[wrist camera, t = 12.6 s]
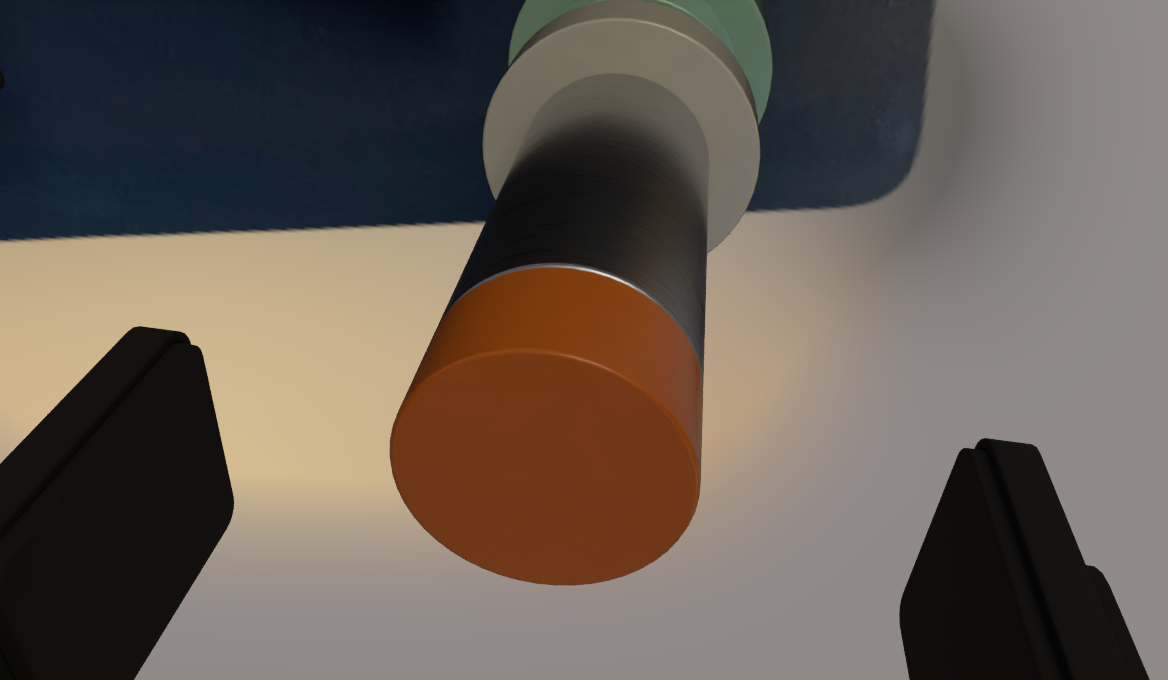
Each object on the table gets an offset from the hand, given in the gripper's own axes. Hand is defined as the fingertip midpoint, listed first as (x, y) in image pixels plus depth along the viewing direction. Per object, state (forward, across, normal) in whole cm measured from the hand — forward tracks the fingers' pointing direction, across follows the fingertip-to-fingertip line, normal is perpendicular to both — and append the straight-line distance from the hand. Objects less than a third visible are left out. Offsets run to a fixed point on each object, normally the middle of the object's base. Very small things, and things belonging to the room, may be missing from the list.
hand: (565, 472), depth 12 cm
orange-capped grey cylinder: (+10, 0, 0) cm, 10 cm away
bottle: (+28, 0, 0) cm, 28 cm away
